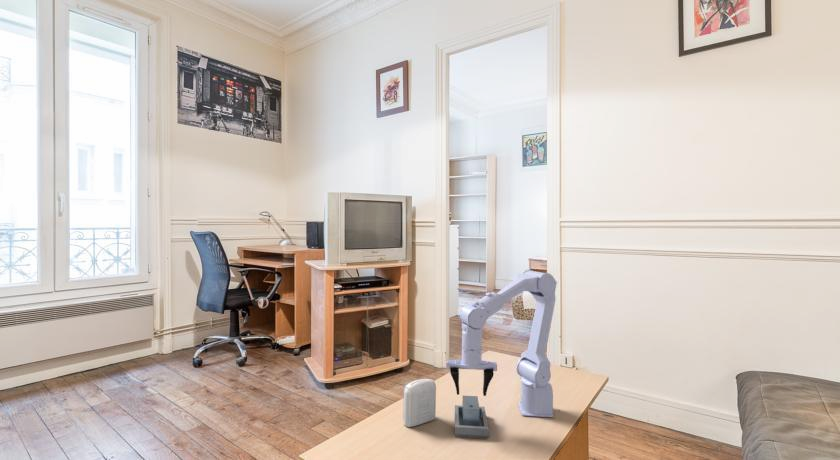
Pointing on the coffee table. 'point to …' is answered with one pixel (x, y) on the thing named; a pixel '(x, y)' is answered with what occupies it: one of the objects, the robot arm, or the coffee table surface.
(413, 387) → the photo printer
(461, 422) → the lock cradle
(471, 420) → the block
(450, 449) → the coffee table surface
